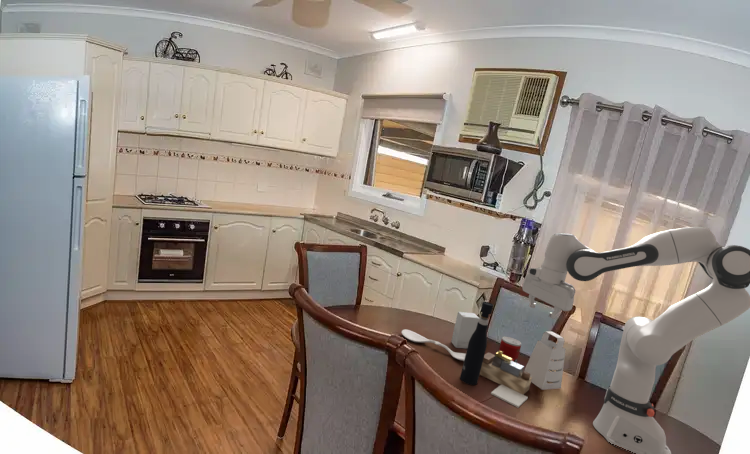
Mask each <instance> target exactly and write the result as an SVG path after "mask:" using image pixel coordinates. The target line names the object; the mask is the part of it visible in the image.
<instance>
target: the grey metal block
mask: <svg viewBox="0 0 750 454" xmlns="http://www.w3.org/2000/svg"><path fill="white" fill-rule="evenodd" d="M500 369H501V370H503V371H505V372H507V373H509V374H512V375H514V376H516V377H519V376H520V375H522V373H523V371H524V370H525V365H522V364H520V363H518V362H517V363H516V362H513V361H511V362H508V361H506V360H503V361H502V363H501V367H500Z"/></svg>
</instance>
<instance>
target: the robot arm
mask: <svg viewBox="0 0 750 454" xmlns="http://www.w3.org/2000/svg"><path fill="white" fill-rule="evenodd" d="M686 263H698V264H699V266H700V267H701V268H702V270H703V271H704V272H705V274H706V275H707V276H708V277H709V278H710V279H711V280H712V281H711V283H710V284H709V285H708V286H706V287H705V288H703V289H702V290H700V291H697V292H695V293H693V294H691V295H689V296H686V297H685V298H683V299H682V300H680V301H678V302H676V303H674V304H671V305H669V306H668V308H667V309H666V310H665V311H664V312H663V313H661V314H660V315H658V316H657V317H656V318H654V319H653V320H652V319H651V318H648V317H644V316H641V315H640V316H633V317H631V318H629V319H627V320H626V321H625V324H624V326H623V331H622V335H621V340H620V344H619V351H618V355H617V362H616V366H615V370H614V372H613V376H612V380H611V382H610V385H609V386H608V387H607V389H606V392H605V396H604V403H603V405H602V407H601V409H600V411H599V412H598V415H597V416H596V417H595V419H594V420H593V422H592V425H593V427H594V429H595V430H596V431H597V432H598V433H599V434H601V435H602V436H603V437H604V438H605V440H606V441H607V442H608V443H609V442H610V443H611V445H612V444H614V445H613V446H615V445H617V446H619V447H622V448H624V449H626V450H625V451H627V450H629V451H631V452H630V453H632V452H633V453H632V454H634V453H636V454H672V451H671V450H670V448H669V446H668V445H667V436H666V434H665V430H664V429H663V427H661V425H660V424H659V422H658V421H657V420H656V419H655V417H654V416H655V410H654V409H655V408H654V403H651V402H650V400H649V399H650V398H651V394H652V390H653V387H654V384H655V382H656V381H655V380H656V368H657V366H661V365H663V364H666V363H667V362H668V361H669V360H670V359H671V357H672V356H673V355H674V354H675V353H677V352H678V351H680V350H681V349H683V348H684V347H685V346H686V345H688V344H689V343H690V342H692V341H693V340H695V339H697V338H698V337H701V336H702V335H705V334H707V333H710V332H711V331H713V330H716V329H717V328H719V327H722V326H724V325H725V324H728V323H730V322H732V321H733V320H735V319H736V318H738V317H740V316H742V314H744V313H745V312H747V311H748V310H749V309H750V294H749V292H748V290H746V288H748V287H749V286H750V249H749V248H747V247H745V246H742V245H735V244H734V245H733V244H730V245H726V246H723V245H722V244H719V243H718V241H717V238H716V236H715V235H714V232H712V231H711V230H710V229H709V228H707V227H702V226H690V227H689V226H688V227H680V228H672V229H667V230H662V231H659V232H658V231H657V232H655V233H651V234H649V235H647V236H644V237H643V238H641V239H640V240H639V241H637V242H636V243H634V244H632V245H630V246H627V247H623V248H617V249H612V250H607V251H601V252H596V251H595V250H593V249H592V248H590V247H588V246H587V245H585V244H584V243H582V242H581V241H580V240H579V239H578V238H577V236H576V235H574V234H572V233H568V232H567V233H565V232H564V233H563V232H558V233H554V234H553V235H551V237H550V238H549V240H548V243H547V246H546V249H545V252H544V260H543V261H542V263H541V266H540V267H529V268H527V274H526V275H525V277H524V280H523V282H522V291H523V292H525V293H526V294H529V295H528V300H529V305H528V307H529V308H531V309H535V308H536V306H537V303H535V299H536V298H537V299H538V300H540V301H542V302H545V303H547V304H549V305H551V306H553V311H552V312H549V315H548V317H549V318H550V319H553V320H556V317H557V315H558V314H559V313H560V312H561V311H564V312H570V311H571V310H572V309H573V305H574V299H575V294H576V289H575V287H574V285H573V284H572V283H571V284H570V283H568V282H566V278H567V275H569V276H571V278H573V279H575V280H576V281H579V282H590V281H592V280H594V279H596V278H597V277H599V276H600V275H602V274H605V273H607V272H613V271H617V270H622V269H623V270H624V269H628V268H634V267H656V266H658V267H663V266H671V265H678V264H679V265H680V264H686ZM610 443H609V444H610ZM617 446H616V447H617ZM619 447H618V448H619ZM622 448H621V449H622ZM624 449H623V450H624ZM629 451H628V452H629Z"/></svg>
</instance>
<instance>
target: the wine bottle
mask: <svg viewBox="0 0 750 454" xmlns="http://www.w3.org/2000/svg"><path fill="white" fill-rule="evenodd" d="M493 308H494V304H493V303H491V302H490V301H489V302H488V301H483V302H482V304H481V308H480V312H481V315H480V317H479V318H480V319H479V322H478V323H477V327H476V330H475V331H474V333H473V334H472V336H471V338H470V340H469V344H468V348H467V349H466V353H465V354H466V356H465V360H464V361H463V364H462V368H461V373H460V376H459V379H460V381H462V383H465V384H467V385H470V386H474V385H475V386H476V385H478V381H479V377H480V370H481V367H482V363H483V359H484V355H485V354H486V351H487V345H488V337H487V335H488V334H487V332H488V329H489V328H488V326H489V316H490V315H491V314H492V313H493V310H494V309H493Z"/></svg>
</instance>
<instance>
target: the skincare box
mask: <svg viewBox="0 0 750 454" xmlns="http://www.w3.org/2000/svg"><path fill="white" fill-rule="evenodd" d="M479 319H480V317H479V316H478V315H477V314H476V313H475V312H465V311H464V312H463V311H457V315H456V319H455V323H454V328H453V333H452V337H451V342H450V343H452V345H453V346H454V347H455V348H456V349H466V350H467V348H468V344H469V340H470V338H471V336H472V334H473V333H474V331H475V330H476V327H477V323H478V322H479Z"/></svg>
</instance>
